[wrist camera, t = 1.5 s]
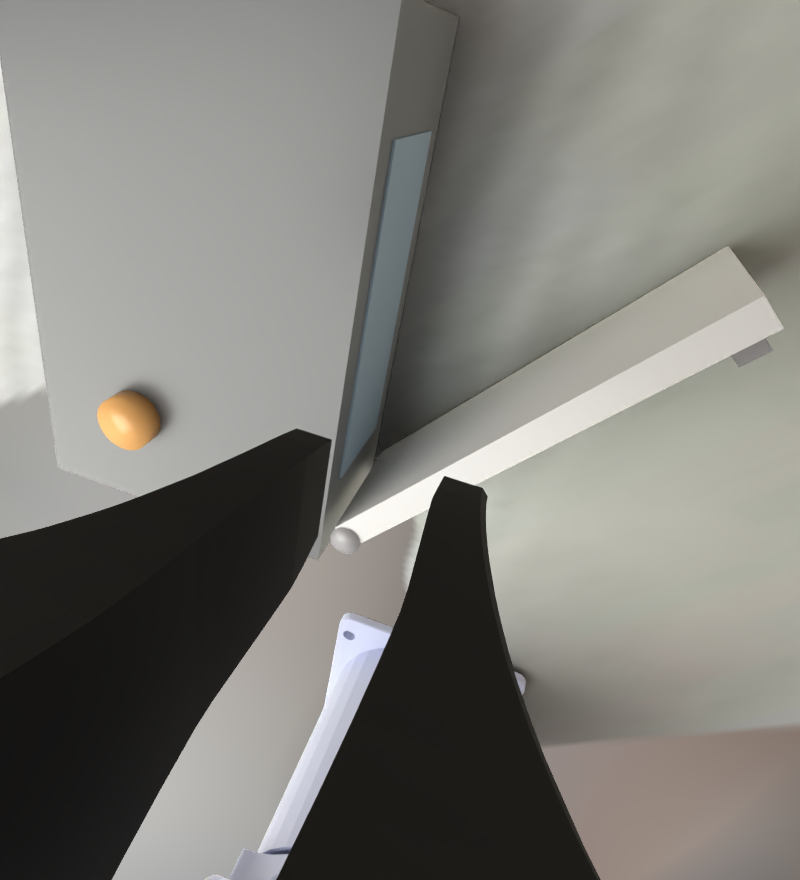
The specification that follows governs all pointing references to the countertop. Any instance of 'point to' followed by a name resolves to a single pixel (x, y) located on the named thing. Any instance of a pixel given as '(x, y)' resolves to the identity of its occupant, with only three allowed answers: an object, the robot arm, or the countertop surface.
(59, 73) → the camera body
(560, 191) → the countertop surface
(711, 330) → the side door
